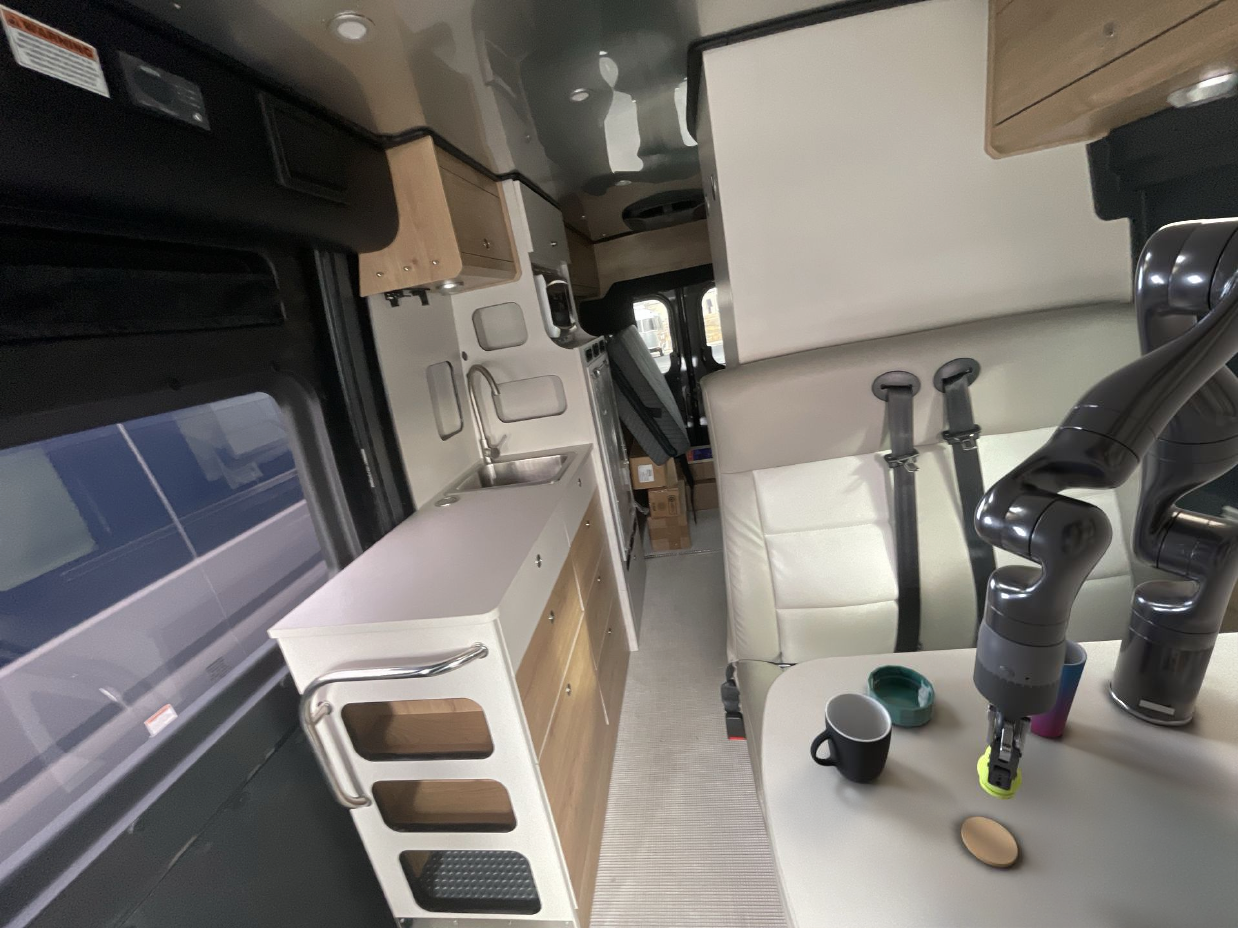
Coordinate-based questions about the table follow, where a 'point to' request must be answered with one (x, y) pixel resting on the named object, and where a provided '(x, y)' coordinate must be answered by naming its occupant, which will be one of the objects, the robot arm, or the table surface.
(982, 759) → the pear
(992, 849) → the coaster
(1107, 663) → the table surface
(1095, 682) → the table surface
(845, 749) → the mug
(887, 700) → the bowl
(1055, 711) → the cup
